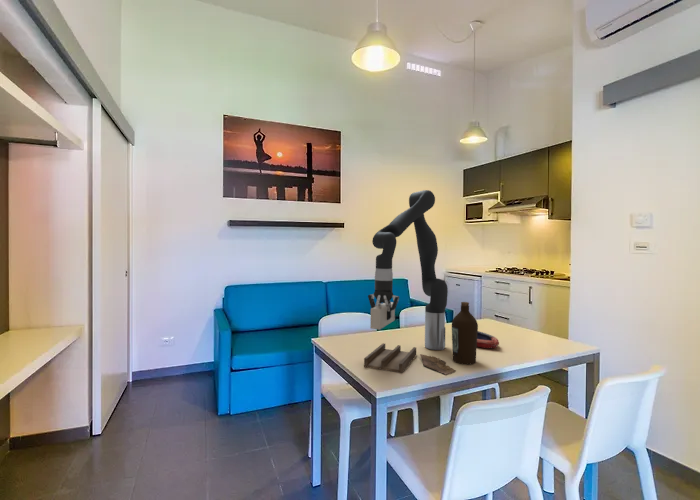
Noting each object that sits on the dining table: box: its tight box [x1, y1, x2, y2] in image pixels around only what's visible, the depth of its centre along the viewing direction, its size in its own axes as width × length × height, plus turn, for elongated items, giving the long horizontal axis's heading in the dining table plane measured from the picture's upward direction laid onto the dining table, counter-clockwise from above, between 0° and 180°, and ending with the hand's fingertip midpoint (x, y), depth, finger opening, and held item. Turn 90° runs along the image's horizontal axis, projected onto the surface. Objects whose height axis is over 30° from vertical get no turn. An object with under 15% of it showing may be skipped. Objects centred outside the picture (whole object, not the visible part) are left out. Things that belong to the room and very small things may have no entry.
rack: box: [363, 343, 417, 374], centre depth 150 cm, size 16×24×4 cm, turn 157°
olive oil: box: [451, 301, 479, 365], centre depth 150 cm, size 11×11×25 cm
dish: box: [477, 330, 500, 349], centre depth 180 cm, size 16×31×5 cm, turn 17°
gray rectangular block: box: [370, 301, 396, 331], centre depth 151 cm, size 4×20×8 cm, turn 156°
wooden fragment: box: [419, 353, 457, 376], centre depth 147 cm, size 26×11×1 cm, turn 8°
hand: (383, 318), depth 151 cm, fingers closed on gray rectangular block, 4 cm apart
